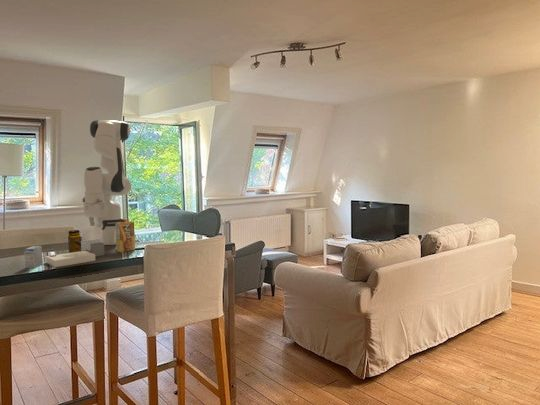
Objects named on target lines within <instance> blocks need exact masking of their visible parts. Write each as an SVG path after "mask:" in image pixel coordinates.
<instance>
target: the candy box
mask: <svg viewBox="0 0 540 405" xmlns="http://www.w3.org/2000/svg"><path fill="white" fill-rule="evenodd" d="M115 224H116V252H117V253H124V252H129V251H135V250H136V242H135V237H136V234H134V233H135V222H134V221H132V220H131V221H128V220H127V222H120V223H115Z"/></svg>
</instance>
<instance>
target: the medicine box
mask: <svg viewBox="0 0 540 405" xmlns="http://www.w3.org/2000/svg"><path fill="white" fill-rule="evenodd" d="M23 251H24V252H23V255H24V267H25V269H35V268H37V267H39V266H41V265H43V263H44V262H43V261H44V260H43V247H42V246H41V245H33V246H29V247H27V248H24V249H23Z"/></svg>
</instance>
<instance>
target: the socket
mask: <svg viewBox="0 0 540 405" xmlns="http://www.w3.org/2000/svg"><path fill="white" fill-rule="evenodd" d="M95 261H96V256H95V254H93V253H91V251H90V252H89V251H87V250H81V251H79V252H72V253H66V254H64V253H59V254H52V255H46V256H45V263H46V264H47V265H50V266H52V267H54V268H59V267H64V266H70V265H71V266H72V265H77V264H82V263H84V264H85V263H90V262H95Z"/></svg>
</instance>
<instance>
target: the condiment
mask: <svg viewBox="0 0 540 405" xmlns="http://www.w3.org/2000/svg"><path fill="white" fill-rule="evenodd" d="M81 238H82V236H81V233H80V230H78V229H74V230H73V229H71V230H69V231H68V236H67V242H68V245H67V246H68V252H63V254H66V253H72V252H79V251H82V239H81Z"/></svg>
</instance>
